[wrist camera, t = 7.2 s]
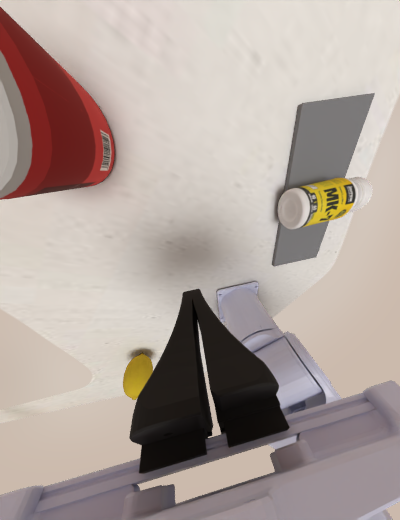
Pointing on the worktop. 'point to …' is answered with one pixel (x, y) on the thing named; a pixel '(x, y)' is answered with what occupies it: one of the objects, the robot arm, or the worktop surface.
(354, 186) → the supplement bottle
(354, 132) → the mat
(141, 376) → the lemon
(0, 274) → the worktop surface
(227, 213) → the worktop surface
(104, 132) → the canned food
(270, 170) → the worktop surface
